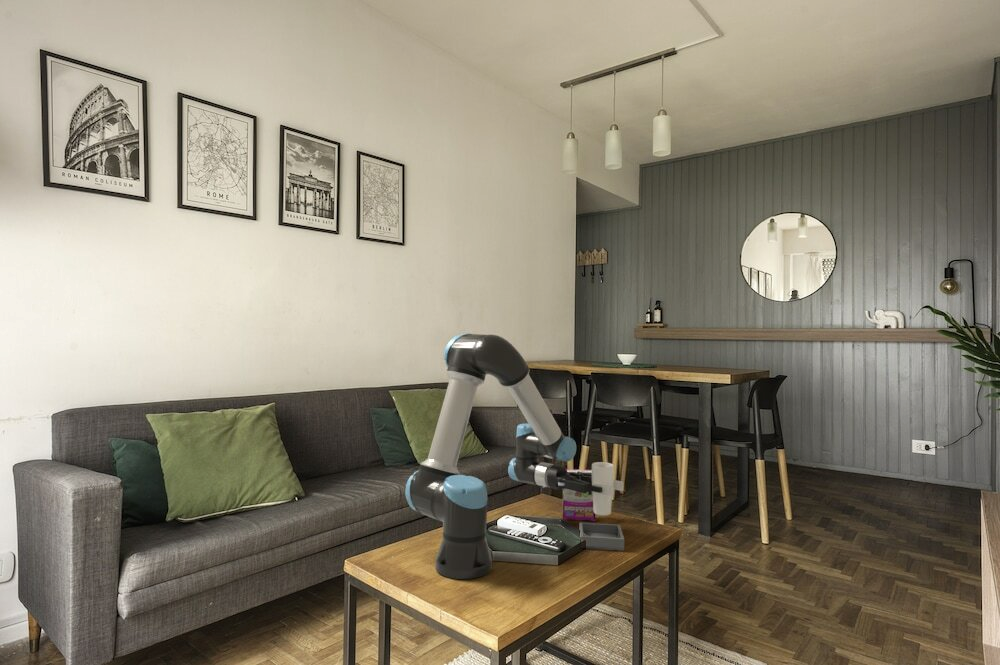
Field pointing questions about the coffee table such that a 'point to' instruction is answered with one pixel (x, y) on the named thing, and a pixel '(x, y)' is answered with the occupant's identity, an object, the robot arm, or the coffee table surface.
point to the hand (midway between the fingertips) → (618, 488)
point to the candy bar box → (577, 503)
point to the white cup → (605, 476)
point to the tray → (602, 536)
